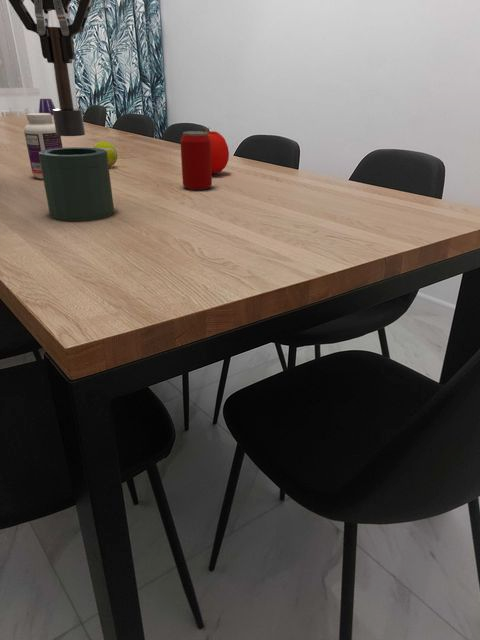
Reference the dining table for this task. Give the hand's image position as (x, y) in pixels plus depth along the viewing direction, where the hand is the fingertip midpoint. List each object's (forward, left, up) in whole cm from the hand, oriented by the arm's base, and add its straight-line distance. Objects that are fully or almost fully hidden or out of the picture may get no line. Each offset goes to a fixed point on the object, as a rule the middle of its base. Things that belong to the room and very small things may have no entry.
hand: (59, 62), depth 83 cm
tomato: (+23, +42, -25) cm, 54 cm away
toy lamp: (-20, +58, -25) cm, 66 cm away
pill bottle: (-16, +37, -25) cm, 47 cm away
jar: (0, 0, -25) cm, 25 cm away
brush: (0, 0, -11) cm, 11 cm away
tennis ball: (-5, +52, -25) cm, 58 cm away
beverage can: (+21, +24, -25) cm, 40 cm away
